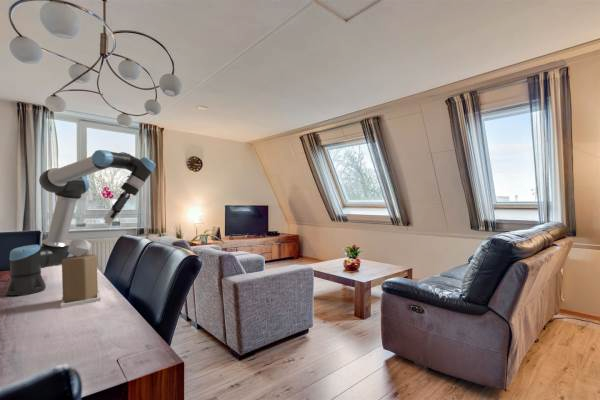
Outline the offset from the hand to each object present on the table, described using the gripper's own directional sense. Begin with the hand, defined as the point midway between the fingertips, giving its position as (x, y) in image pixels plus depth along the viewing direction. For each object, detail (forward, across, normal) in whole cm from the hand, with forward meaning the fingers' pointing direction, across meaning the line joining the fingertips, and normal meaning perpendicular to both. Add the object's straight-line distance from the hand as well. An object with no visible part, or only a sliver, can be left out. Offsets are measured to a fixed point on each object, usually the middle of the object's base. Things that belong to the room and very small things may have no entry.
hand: (106, 222), depth 146 cm
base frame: (+35, +5, +10) cm, 37 cm away
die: (+18, +3, -1) cm, 19 cm away
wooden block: (+35, +5, +10) cm, 37 cm away
